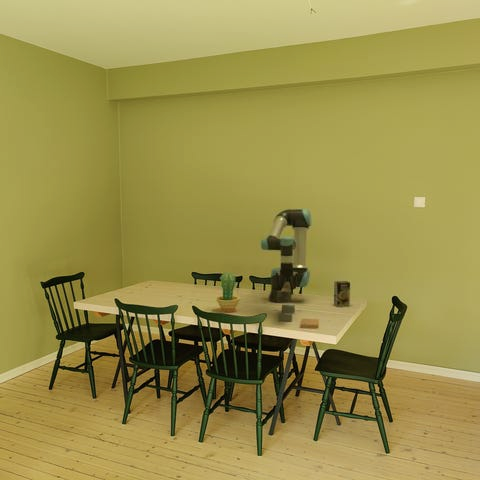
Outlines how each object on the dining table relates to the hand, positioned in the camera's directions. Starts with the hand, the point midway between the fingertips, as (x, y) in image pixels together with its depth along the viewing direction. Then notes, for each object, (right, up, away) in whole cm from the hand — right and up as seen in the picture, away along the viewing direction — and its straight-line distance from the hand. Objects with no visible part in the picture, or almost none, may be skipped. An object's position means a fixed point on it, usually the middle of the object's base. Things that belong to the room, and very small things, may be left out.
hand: (286, 299), depth 289 cm
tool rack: (0, -10, +1) cm, 10 cm away
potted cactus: (-37, -9, +17) cm, 41 cm away
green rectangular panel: (+13, -11, -13) cm, 21 cm away
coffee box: (+40, -7, +26) cm, 48 cm away
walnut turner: (0, +2, -1) cm, 3 cm away
